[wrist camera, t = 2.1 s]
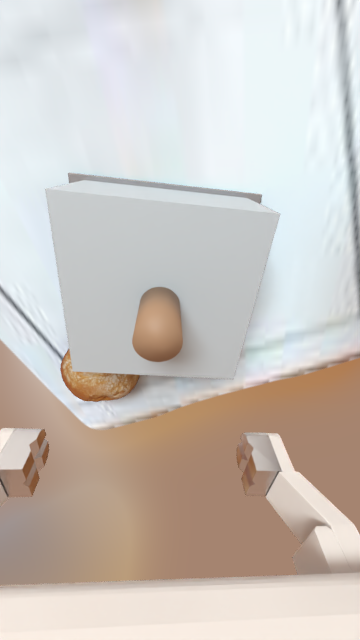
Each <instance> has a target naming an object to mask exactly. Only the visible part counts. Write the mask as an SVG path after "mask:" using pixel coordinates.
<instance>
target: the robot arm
mask: <svg viewBox="0 0 360 640" xmlns="http://www.w3.org/2000/svg"><path fill="white" fill-rule="evenodd" d="M45 436H46V432H45V430H44V429H20V428H2V430H0V507H1V506H2V505H3V504H4V503H5V502H6V501H7V499H8V497H32V495H33V493H34V491H35V488H36V486H37V483H38V481H39V475H38V471H40V470H41V469H42V468H43V467H44V466H45V463H46V460H47V457H48V452H49V444H48V441H47V440H45V439H44V438H45ZM241 441H242V442H241V443H239V444H238V447H237V463H238V467H239V468H240V470H242V472H243V476H242V483H243V487H244V491H245V495H246V496H266V499H267V500H268V501H269V502H270V504H271V505H272V506H273V508H274V509H275V510H276V512H277V513H278V514H279V516H280V517H281V518H282V520H283V521H284V522H285V524H286V525H287V526H288V527H289V529H290V530H291V531H292V533H293V534H294V536H295V537H296V538H297V539H298V541H299V542H300V543H301V546H300V547H299V548H298V549H297V550H296V552H295V553H294V555H293V557H292V558H293V562H294V565H295V568H296V571H297V575H278V576H277V575H276V576H250V577H221V578H191V579H163V580H137V581H136V580H135V581H108V582H79V583H52V584H22V585H0V640H360V535H359V533H358V531H357V529H356V527H355V525H354V524H353V523H352V522H351V521H350V520H349V519H348V518H347V517H346V516H345V515H344V514H343V513H342V512H340V511H339V510H338V509H337V508H336V507H335V506H334V505H333V504H332V503H331V502H330V501H329V500H328V499H327V498H326V497H325V496H324V495H322V493H321V492H319V491H318V490H317V489H316V488H315V487H314V486H313V485H312V484H311V483H310V482H309V481H308V480H307V479H306V478H305V477H303V475H302V474H300V473H299V472H295V470H294V467H293V465H292V463H291V460H290V458H289V456H288V454H287V452H286V449H285V447H284V444H283V442H282V440H281V437H280V436H279V434H277V433H243V434H242V435H241Z"/></svg>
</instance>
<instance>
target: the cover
mask: <svg viewBox="0 0 360 640" xmlns="http://www.w3.org/2000/svg"><path fill="white" fill-rule="evenodd" d="M45 191H46V198H47V204H48V211H49V218H50V224H51V231H52V238H53V244H54V251H55V257H56V264H57V271H58V277H59V284H60V290H61V297H62V304H63V310H64V317H65V323H66V330H67V337H68V343H69V350H70V356H71V363H72V370H73V371H74V372H94V373H115V374H135V375H155V376H175V377H195V378H216V379H233V378H234V375H235V371H236V368H237V364H238V361H239V357H240V354H241V350H242V347H243V343H244V340H245V336H246V333H247V329H248V326H249V322H250V319H251V315H252V312H253V308H254V304H255V301H256V297H257V294H258V290H259V287H260V283H261V280H262V276H263V273H264V269H265V266H266V262H267V259H268V255H269V252H270V248H271V245H272V241H273V238H274V234H275V231H276V227H277V224H278V220H279V217H280V213H278V212H275V211H273V210H271V209H269V208H267V207H265V206H263V205H261V204H259V203H257V202H254V201H252V200H250V199H248V198H244V197H235V196H226V195H217V194H207V193H198V192H189V191H180V190H171V189H162V188H153V187H144V186H135V185H126V184H117V183H108V182H99V181H89V180H82V181H78V182H73V183H69V184H64V185H60V186H56V187H51V188H47V189H45Z"/></svg>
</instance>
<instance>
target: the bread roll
mask: <svg viewBox="0 0 360 640" xmlns="http://www.w3.org/2000/svg"><path fill="white" fill-rule="evenodd" d="M61 374H62V378H63V381H64V382H65V384H66V386H67V388H68V389H69V390H70V391H71V392H72V393H73V394H74V395H75V396H76V397H78V398H80V399H82V400H84V401H94V402H98V401H102V400H114V399H119V398H122V397H124V396H126V395H127V394H128V393H130V392H131V391H132V389H133V388H134V387H135V385H136V383H137V381H138V379H139V376H140V375H135V374H115V373H94V372H74V371H73V370H72V363H71V356H70V350H69V349H68V351H67V353H66V354H65V356H64V358H63V360H62V363H61Z"/></svg>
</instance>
